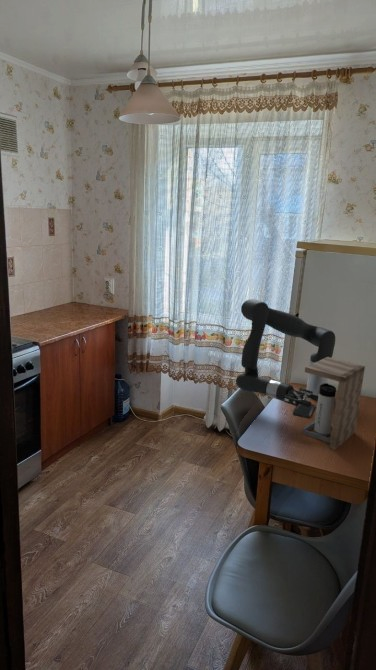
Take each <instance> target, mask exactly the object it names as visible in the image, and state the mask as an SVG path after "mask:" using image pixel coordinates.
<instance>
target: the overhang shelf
mask: <svg viewBox="0 0 376 670" xmlns="http://www.w3.org/2000/svg"><path fill="white" fill-rule="evenodd" d="M365 370H366V365H363V364H357V363H353V362H350V361H346V360H341V359H338V358H333V357H332V358H330V357H326V358H324V359H322V360H320V361H317V362H315V363H313V364H311V365H310V364H308V365H306V366H305V367H304V373H307V374H308V373H310V374H313V375H317V376H320V377H324V378H328V380H331V381H336V382H338V386H337V391H336V398H335V405H334V411H333V413H334V414H333V418H332V425H331V426H332V431H331V432H330V437H331V440H330V443H329V447H328V448H329V449H331V450H334V451H335V450H336V449H338V448H339V447H340V446H341V445H342V444H343V443H344V442H346V441H348V439H349V438H351V436H353V435H354V434H355V433H356V427H357V420H358V414H359V413H358V412H359V406H360V401H361V394H362V388H363V383H364V377H365V376H364V375H365Z"/></svg>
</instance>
